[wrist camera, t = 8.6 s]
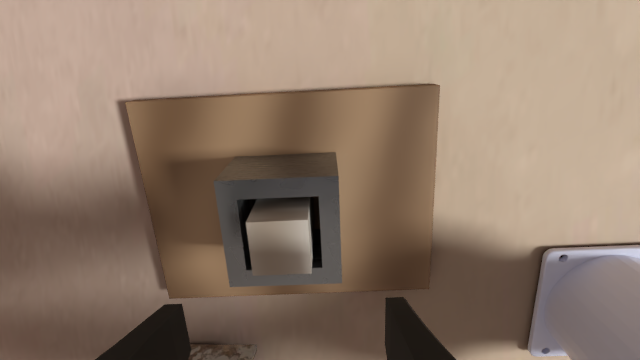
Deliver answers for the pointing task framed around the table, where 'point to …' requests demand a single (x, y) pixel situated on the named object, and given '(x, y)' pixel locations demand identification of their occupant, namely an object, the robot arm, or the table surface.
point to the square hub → (280, 182)
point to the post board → (294, 128)
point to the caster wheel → (222, 352)
